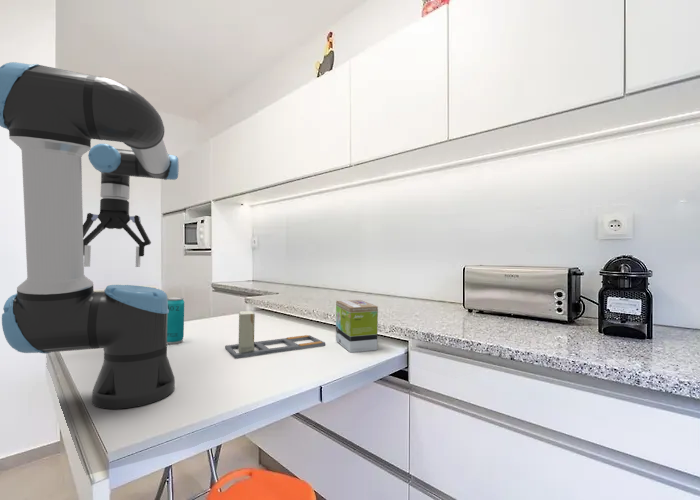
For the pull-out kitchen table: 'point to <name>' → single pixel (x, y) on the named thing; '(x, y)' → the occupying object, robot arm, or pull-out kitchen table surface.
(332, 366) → the pull-out kitchen table surface
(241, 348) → the skincare box
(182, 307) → the beverage can
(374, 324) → the tea box
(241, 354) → the socket rail
